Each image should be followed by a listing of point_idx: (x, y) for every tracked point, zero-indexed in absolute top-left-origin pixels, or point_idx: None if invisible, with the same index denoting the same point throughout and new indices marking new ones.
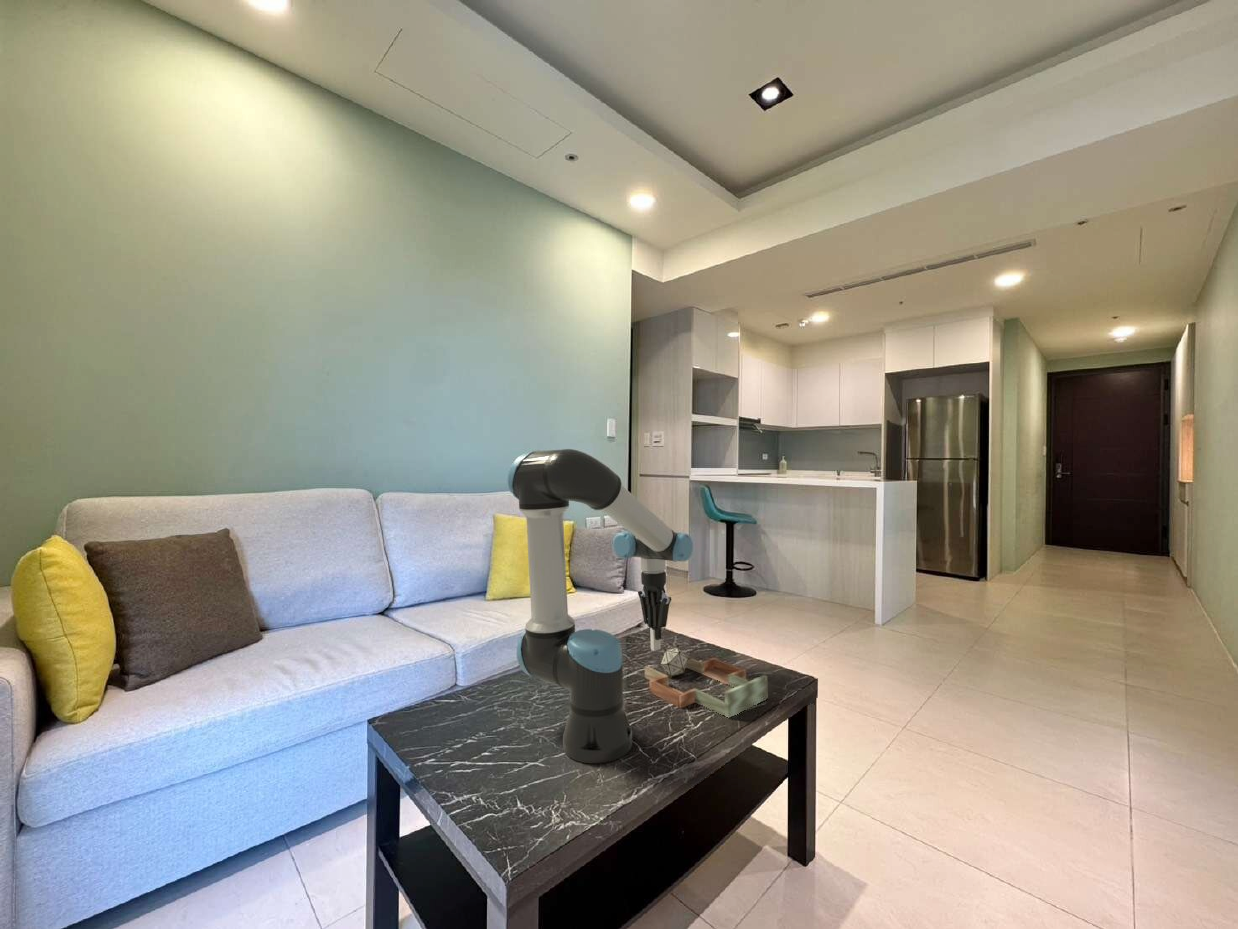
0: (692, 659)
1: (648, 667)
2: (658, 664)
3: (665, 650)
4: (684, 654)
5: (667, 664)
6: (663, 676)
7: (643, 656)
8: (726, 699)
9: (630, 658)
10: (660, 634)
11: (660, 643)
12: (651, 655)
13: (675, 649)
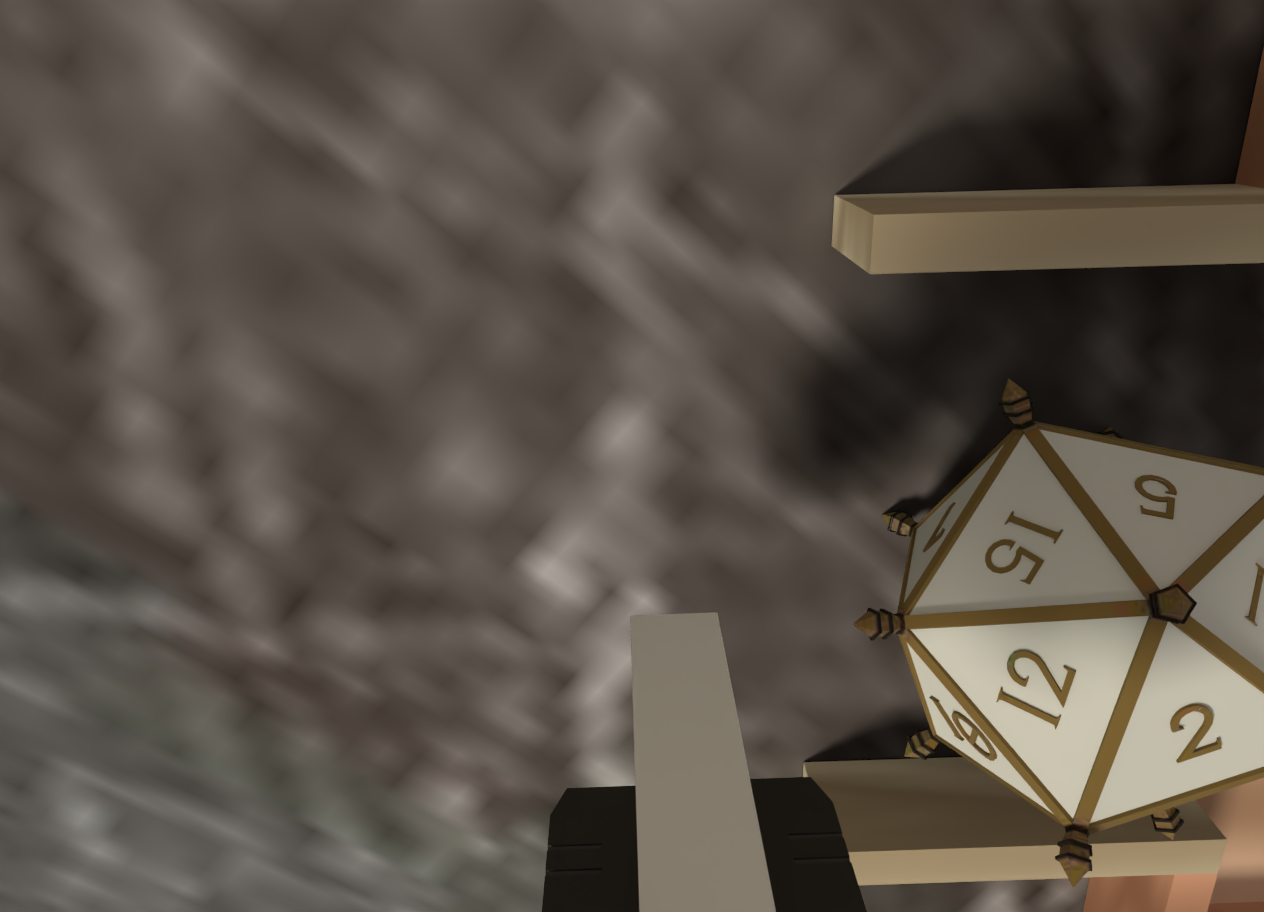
0: (1159, 249)
1: (872, 865)
2: (917, 756)
3: (1085, 837)
4: (1255, 524)
5: (1175, 831)
6: (1191, 885)
7: (234, 445)
8: None
9: (206, 613)
10: (852, 881)
11: (727, 670)
12: (262, 333)
13: (1195, 697)
